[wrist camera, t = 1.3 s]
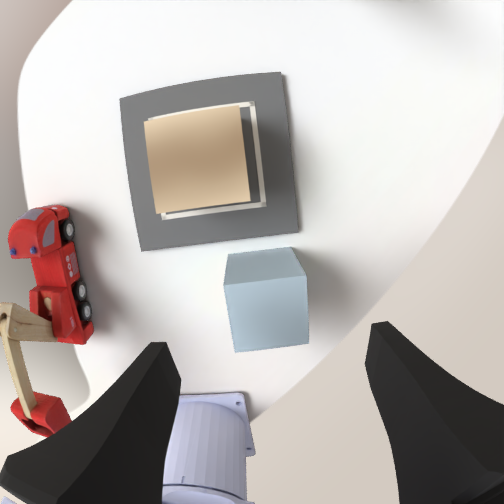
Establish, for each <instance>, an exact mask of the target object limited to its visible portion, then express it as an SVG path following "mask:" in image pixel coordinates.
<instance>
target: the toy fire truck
mask: <svg viewBox="0 0 504 504" xmlns="http://www.w3.org/2000/svg"><path fill="white" fill-rule="evenodd" d="M68 217H69V211H68V209H67V208H66V207H64V206H60V205H48V206H44V207H41V208H34V209H31V210H29V211H27V212H26V213H24V214H23V215H21V216H20V217H19V218H18V219H17V220H16V221H15V223H14V224H13V225H12V227H11V229H10V231H9V235H8V243H9V248H10V254H11V258H13V259H20V258H31V263H32V267H33V270H34V275H35V278H36V283H37V286H36V287H34V288H33V289H32V290H30V291H29V293H30V294H29V295H30V296H29V299H30V311H28V310H26V309H24V308H22V307H21V306H19V305H17V304H15V303H6V302H5V303H4V302H2V303H0V336H1V337H2V340H3V345H4V349H5V353H6V358H7V361H8V365H9V369H10V372H11V375H12V379H13V382H14V385H15V388H16V391H17V394H18V398H17V399H16V400H14V402H13V403H12V405H11V412H13V414H14V415H15V416H16V417H17V418H18V419H19V421H21V422H22V423H23V425H25V426H26V427H27V428H28V429H29V430H30V431H31V432H33V433H36V434H39V435H42V436H45V437H49V436H51V435H53V434H54V433H56V432H57V431H59V430H60V429H62V428H63V427H64V426H66V425H67V424H69V423H70V422H72V420H71V418H70V416H69V414H68V412H67V410H66V408H65V406H64V404H63V402H62V400H61V398H59V397H55V396H49V395H45V394H42V393H37V392H33V390H32V387H31V383H30V380H29V377H28V373H27V370H26V366H25V363H24V359H23V355H22V351H21V347H20V342H19V341H40V342H64V343H72V344H80V345H84V344H86V342H87V340H88V339H89V338H90V336H91V335H92V334H93V332H94V327H93V324H92V322H91V321H87V320H89V319H90V317H91V313H92V311H91V307H90V304H89V303H88V302H80V301H81V300H83V299H84V298H85V297H86V286H85V284H84V282H82V281H78V279H79V278H80V273H79V268H78V262H77V258H76V252H75V246H74V242H72V241H71V239H72V238H73V235H74V224H73V222H72V221H71V220H69V219H68Z"/></svg>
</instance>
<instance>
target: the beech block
mask: <svg viewBox="0 0 504 504" xmlns="http://www.w3.org/2000/svg"><path fill="white" fill-rule="evenodd" d="M144 129H145V138H146V147H147V155H148V163H149V170H150V177H151V184H152V191H153V197H154V203H155V209H156V214H159V213H166V212H172V211H179V210H186V209H193V208H200V207H207V206H214V205H222V204H230V203H238V202H246V201H251V200H250V192H249V183H248V175H247V166H246V158H245V150H244V141H243V133H242V124H241V116H240V108H239V105H237V106H229V107H221V108H214V109H207V110H201V111H195V112H189V113H183V114H178V115H173V116H168V117H163V118H158V119H154V120H149V121H145V122H144Z"/></svg>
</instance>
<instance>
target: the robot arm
mask: <svg viewBox="0 0 504 504" xmlns="http://www.w3.org/2000/svg"><path fill="white" fill-rule="evenodd" d="M365 367H366V371H367V375H368V379H369V383H370V387H371V390H372V393H373V396H374V398H375V401H376V404H377V406H378V409H379V412H380V415H381V417H382V420H383V423H384V426H385V429H386V431H387V434H388V436H389V441H390V444H391V448H392V453H393V458H394V464H395V470H396V476H397V483H398V491H399V502H400V504H504V405H503V404H501V403H499V402H496V401H494V400H492V399H490V398H488V397H486V396H485V395H483V394H481V393H479V392H477V391H475V390H474V389H472V388H470V387H469V386H467V385H466V384H464V383H462V382H461V381H459V380H458V379H456V378H455V377H454V376H452V375H451V374H449V373H448V372H447V371H445V370H444V369H443V368H442V367H440V366H439V365H438V364H436V363H435V362H434V361H433V360H431V359H430V358H429V357H428V356H427V355H425V354H424V353H423V352H422V351H421V350H419V349H418V348H417V347H416V346H415V345H414V344H413V343H412V342H410V341H409V340H408V339H407V338H406V337H405V336H404V335H402V333H400V332H399V331H398V330H397V329H396V328H395V327H394V326H392V324H390V323H389V322H388V321H385V322H379V323H373V324H372V325H371V332H370V338H369V344H368V350H367V355H366V361H365ZM180 387H181V378H180V375H179V373H178V370H177V368H176V366H175V363H174V361H173V358H172V356H171V353H170V351H169V348H168V345H167V343H166V342H151V343H150V344H149V345H148V346H147V347H146V348H145V349H144V350H143V351H142V353H141V354H140V355H139V356H138V357H137V358H136V359H135V361H134V362H133V363H132V364H131V365H130V366H129V367H128V368H127V370H126V371H125V372H124V373H123V374H122V375H121V376H120V377H119V378H118V379H117V381H116V382H115V383H114V384H113V385H112V386H111V387H110V388H109V389H108V390H107V391H106V392H105V393H104V394H103V395H102V396H101V397H100V398H99V399H98V400H97V401H96V402H95V403H94V404H92V405H91V406H90V407H89V408H88V409H87V410H85V411H84V412H83V413H82V414H81V415H79V416H78V417H77V418H76V419H74V420H73V421H72V422H70V423H69V424H67V425H66V426H64V427H63V428H62V429H60V430H59V431H57V432H56V433H54V434H53V435H51V436H49V437H47V438H46V439H44V440H42V441H40V442H38V443H37V444H35V445H33V446H31V447H28V448H26V449H24V450H21V451H19V452H17V453H14V454H12V455H9V456H8V457H7V459H6V461H5V463H4V465H3V468H2V470H1V473H0V486H1V487H3V488H4V489H5V490H7V491H8V492H10V493H11V494H12V495H14V496H15V497H17V498H18V499H20V500H22V501H23V502H25V503H27V504H255V503H254V502H248V501H247V488H246V457H247V456H254V455H255V448H254V443H253V438H252V434H251V428H250V423H249V419H248V414H247V409H246V404H245V398H244V395H243V394H242V393H225V394H208V395H180ZM1 504H16V503H15V502H13V501H12V500H10V499H9V498H7V497H3V500H2V502H1Z"/></svg>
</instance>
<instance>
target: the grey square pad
mask: <svg viewBox="0 0 504 504" xmlns="http://www.w3.org/2000/svg"><path fill="white" fill-rule="evenodd" d="M237 105H239V108H240V116H241V124H242V133H243V141H244V150H245V158H246V166H247V175H248V183H249V192H250V200H251V201H246V202H238V203H230V204H222V205H214V206H207V207H200V208H193V209H186V210H179V211H172V212H166V213H159V214H156V209H155V203H154V197H153V191H152V184H151V177H150V170H149V163H148V155H147V147H146V138H145V129H144V122H145V121H149V120H154V119H158V118H163V117H168V116H173V115H178V114H183V113H189V112H195V111H201V110H207V109H214V108H221V107H229V106H237ZM120 110H121V122H122V132H123V142H124V151H125V159H126V166H127V174H128V181H129V187H130V194H131V200H132V206H133V211H134V217H135V222H136V228H137V233H138V238H139V243H140V247H141V252H142V251H149V250H157V249H165V248H172V247H180V246H188V245H196V244H204V243H212V242H220V241H228V240H237V239H245V238H253V237H262V236H270V235H279V234H288V233H297V232H298V219H297V207H296V196H295V185H294V175H293V165H292V156H291V147H290V138H289V129H288V121H287V113H286V105H285V98H284V90H283V83H282V76H281V72H270V73H257V74H246V75H236V76H228V77H220V78H213V79H206V80H200V81H194V82H189V83H183V84H178V85H173V86H168V87H164V88H159V89H155V90H151V91H146V92H142V93H138V94H135V95H131V96H127V97H124V98H120Z"/></svg>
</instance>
